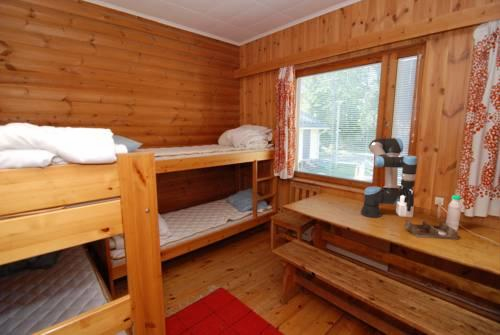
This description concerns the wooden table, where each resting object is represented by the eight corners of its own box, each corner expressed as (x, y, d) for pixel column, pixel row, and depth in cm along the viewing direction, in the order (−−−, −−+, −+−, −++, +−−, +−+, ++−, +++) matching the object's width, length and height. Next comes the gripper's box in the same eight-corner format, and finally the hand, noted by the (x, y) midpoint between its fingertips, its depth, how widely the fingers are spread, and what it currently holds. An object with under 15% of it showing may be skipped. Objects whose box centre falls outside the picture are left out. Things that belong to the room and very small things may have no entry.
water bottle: (442, 228, 173) (447, 195, 168) (448, 226, 175) (453, 194, 171) (453, 232, 166) (459, 198, 162) (460, 230, 169) (465, 196, 164)
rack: (404, 227, 176) (405, 219, 174) (440, 229, 172) (441, 221, 171) (416, 238, 158) (418, 230, 157) (457, 241, 154) (459, 232, 153)
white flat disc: (428, 229, 169) (428, 228, 168) (441, 230, 167) (441, 229, 167) (435, 235, 161) (435, 233, 160) (449, 236, 159) (449, 234, 159)
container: (408, 213, 162) (410, 194, 160) (412, 217, 155) (415, 198, 153) (395, 212, 164) (397, 193, 162) (399, 216, 157) (401, 197, 155)
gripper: (394, 175, 166) (391, 207, 170) (409, 183, 146) (405, 218, 150) (406, 176, 165) (403, 207, 169) (423, 184, 144) (418, 219, 149)
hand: (404, 212), depth 159 cm, fingers closed on container, 8 cm apart
